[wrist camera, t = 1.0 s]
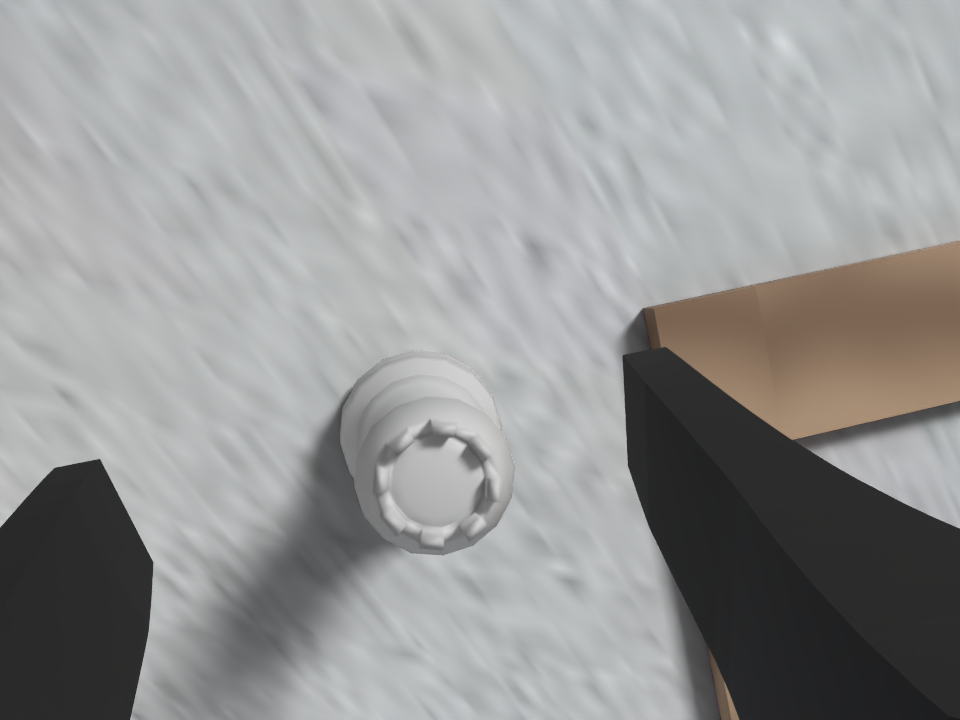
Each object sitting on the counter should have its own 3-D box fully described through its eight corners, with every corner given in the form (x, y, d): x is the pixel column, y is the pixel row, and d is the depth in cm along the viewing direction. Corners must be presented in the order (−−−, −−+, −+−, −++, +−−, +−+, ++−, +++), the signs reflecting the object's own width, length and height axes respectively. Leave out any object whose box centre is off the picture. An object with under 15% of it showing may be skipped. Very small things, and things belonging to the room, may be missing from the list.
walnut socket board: (1158, 739, 28) (1186, 755, 27) (746, 855, 27) (760, 876, 26) (1082, 214, 27) (1109, 211, 26) (642, 308, 25) (653, 308, 24)
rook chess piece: (471, 524, 25) (514, 625, 17) (320, 481, 24) (291, 566, 17) (517, 375, 25) (581, 407, 17) (366, 329, 24) (359, 341, 16)
